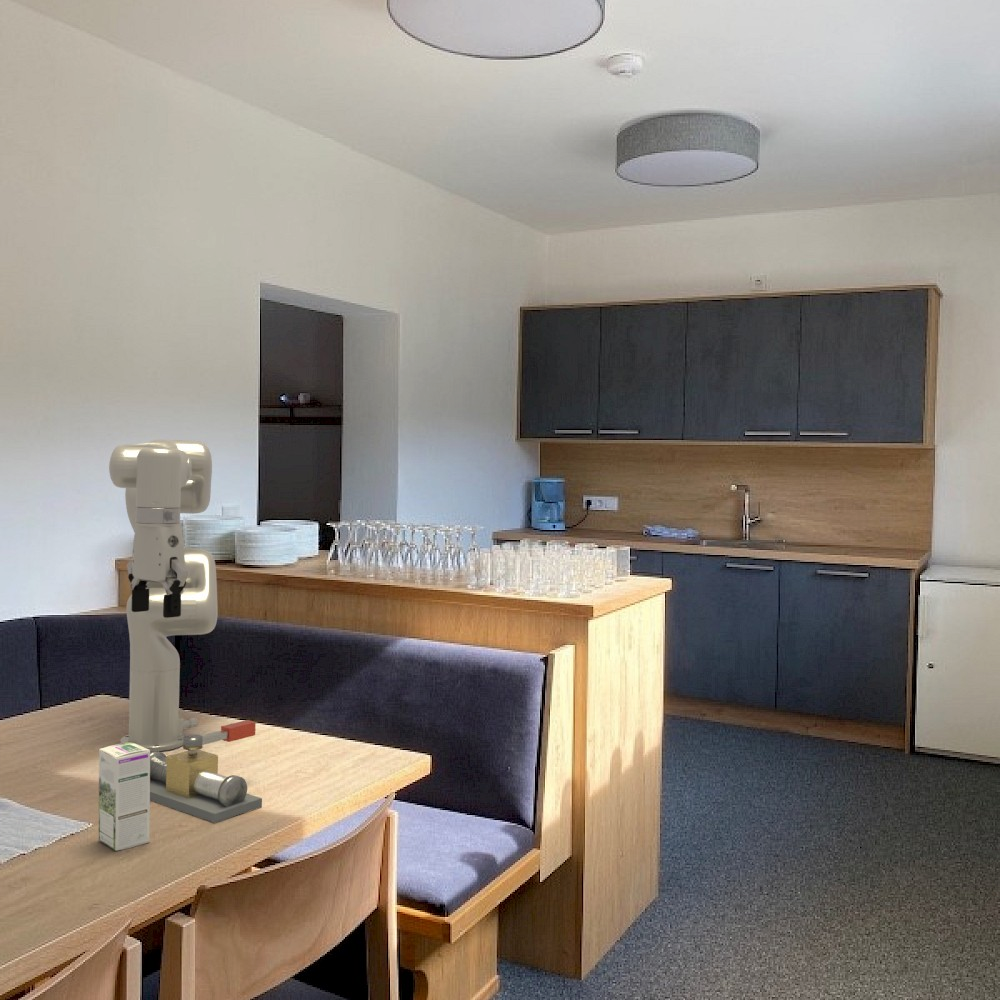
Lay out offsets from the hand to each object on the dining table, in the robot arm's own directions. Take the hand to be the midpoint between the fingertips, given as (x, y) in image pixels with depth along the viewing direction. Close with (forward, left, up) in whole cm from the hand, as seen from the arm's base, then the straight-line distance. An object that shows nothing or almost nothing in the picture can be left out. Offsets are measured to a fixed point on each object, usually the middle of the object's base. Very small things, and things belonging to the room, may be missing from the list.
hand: (155, 614), depth 183 cm
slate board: (+1, +12, -30) cm, 33 cm away
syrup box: (+20, +20, -31) cm, 42 cm away
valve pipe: (+1, +12, -30) cm, 33 cm away
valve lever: (-5, +12, -23) cm, 26 cm away
